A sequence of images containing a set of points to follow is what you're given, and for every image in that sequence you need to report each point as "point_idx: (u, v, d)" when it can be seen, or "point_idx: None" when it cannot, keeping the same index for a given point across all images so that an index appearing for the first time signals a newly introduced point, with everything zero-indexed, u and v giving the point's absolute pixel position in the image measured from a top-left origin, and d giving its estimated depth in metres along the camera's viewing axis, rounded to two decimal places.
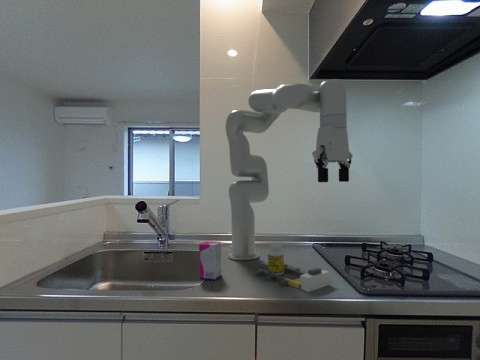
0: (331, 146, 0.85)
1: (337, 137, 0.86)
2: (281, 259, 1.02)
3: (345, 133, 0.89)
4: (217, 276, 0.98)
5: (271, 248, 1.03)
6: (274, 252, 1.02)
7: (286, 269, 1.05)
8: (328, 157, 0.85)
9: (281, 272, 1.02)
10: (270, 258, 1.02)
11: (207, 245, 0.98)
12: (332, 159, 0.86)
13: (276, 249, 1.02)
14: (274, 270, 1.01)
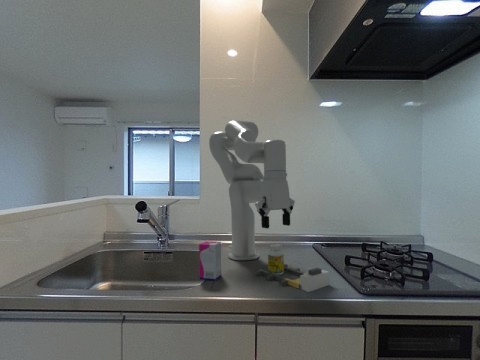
0: (271, 197, 1.00)
1: (277, 189, 1.01)
2: (281, 259, 1.02)
3: (285, 184, 1.03)
4: (217, 276, 0.98)
5: (271, 248, 1.03)
6: (274, 252, 1.02)
7: (286, 269, 1.05)
8: (269, 207, 0.99)
9: (281, 272, 1.02)
10: (270, 258, 1.02)
11: (207, 245, 0.98)
12: (272, 208, 1.00)
13: (276, 249, 1.02)
14: (274, 270, 1.01)
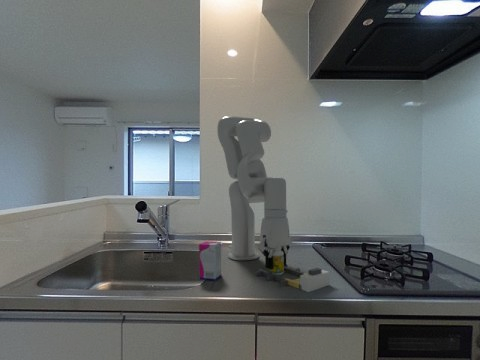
0: (271, 236, 1.00)
1: (277, 227, 1.01)
2: (281, 259, 1.02)
3: (285, 222, 1.04)
4: (217, 276, 0.98)
5: None
6: (274, 252, 1.02)
7: (286, 269, 1.05)
8: (269, 246, 1.00)
9: (281, 272, 1.02)
10: None
11: (207, 245, 0.98)
12: (272, 247, 1.01)
13: (276, 249, 1.02)
14: (274, 270, 1.01)
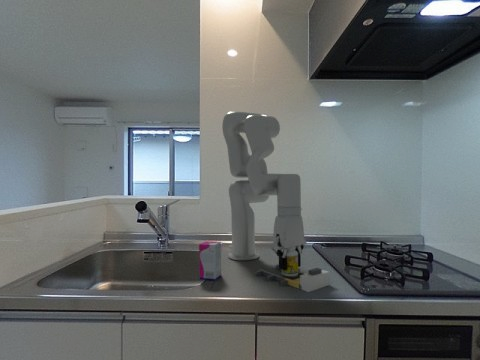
0: (285, 235, 0.95)
1: (291, 226, 0.96)
2: (295, 259, 0.97)
3: (300, 221, 0.98)
4: (217, 276, 0.98)
5: None
6: (288, 252, 0.97)
7: None
8: (282, 246, 0.94)
9: (295, 273, 0.97)
10: None
11: (207, 245, 0.98)
12: (286, 247, 0.95)
13: (290, 249, 0.97)
14: (288, 271, 0.96)
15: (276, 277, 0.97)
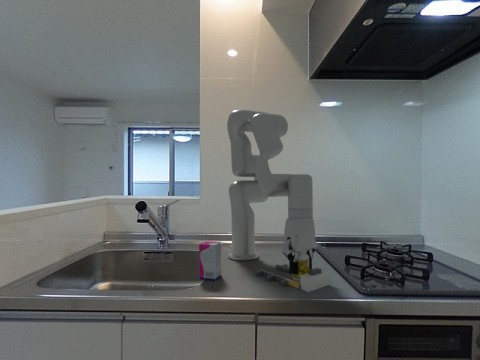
0: (297, 239, 0.91)
1: (303, 229, 0.92)
2: (307, 263, 0.93)
3: (311, 223, 0.94)
4: (217, 276, 0.98)
5: None
6: (299, 256, 0.93)
7: (286, 269, 1.05)
8: (294, 249, 0.91)
9: None
10: None
11: (207, 245, 0.98)
12: (298, 250, 0.91)
13: (301, 252, 0.93)
14: None
15: (276, 277, 0.97)
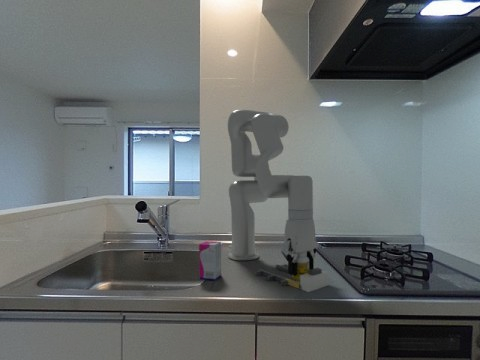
0: (297, 240, 0.91)
1: (303, 230, 0.92)
2: (307, 266, 0.93)
3: (312, 224, 0.94)
4: (217, 276, 0.98)
5: None
6: (299, 258, 0.93)
7: (286, 269, 1.05)
8: (294, 251, 0.90)
9: None
10: None
11: (207, 245, 0.98)
12: (298, 252, 0.91)
13: (301, 255, 0.93)
14: None
15: (276, 277, 0.97)
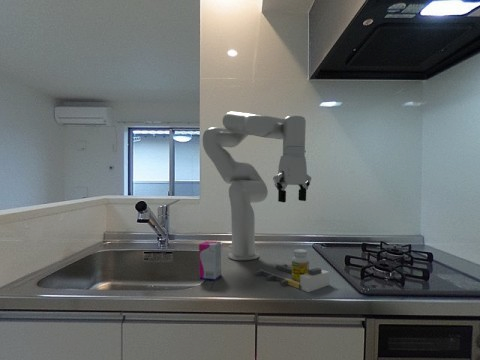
0: (289, 172, 1.02)
1: (295, 164, 1.03)
2: (307, 266, 0.93)
3: (303, 161, 1.05)
4: (217, 276, 0.98)
5: (296, 254, 0.94)
6: (299, 258, 0.93)
7: (286, 269, 1.05)
8: (286, 181, 1.02)
9: None
10: (295, 265, 0.93)
11: (207, 245, 0.98)
12: (290, 183, 1.03)
13: (301, 255, 0.93)
14: None
15: (276, 277, 0.97)
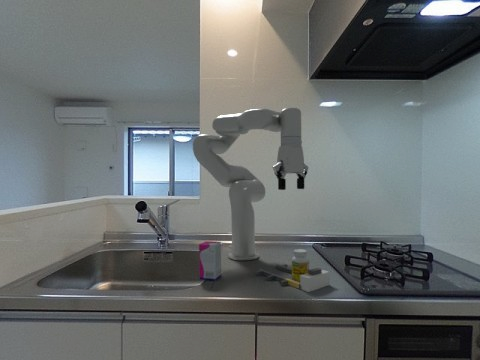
0: (288, 161, 1.07)
1: (293, 153, 1.08)
2: (307, 266, 0.93)
3: (300, 150, 1.11)
4: (217, 276, 0.98)
5: (296, 254, 0.94)
6: (299, 258, 0.93)
7: (286, 269, 1.05)
8: (285, 170, 1.07)
9: None
10: (295, 265, 0.93)
11: (207, 245, 0.98)
12: (289, 171, 1.08)
13: (301, 255, 0.93)
14: None
15: (276, 277, 0.97)
